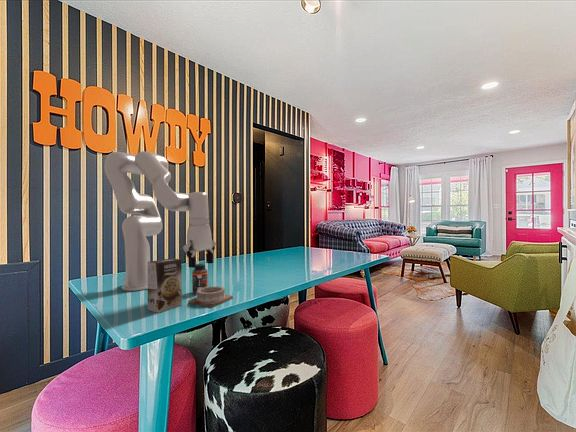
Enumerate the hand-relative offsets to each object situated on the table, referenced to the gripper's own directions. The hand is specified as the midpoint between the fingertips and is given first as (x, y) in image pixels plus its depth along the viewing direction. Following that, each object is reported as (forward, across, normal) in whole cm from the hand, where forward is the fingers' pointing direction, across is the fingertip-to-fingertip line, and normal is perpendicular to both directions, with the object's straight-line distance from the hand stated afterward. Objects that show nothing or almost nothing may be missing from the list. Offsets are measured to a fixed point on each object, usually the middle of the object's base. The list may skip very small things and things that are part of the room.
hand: (201, 265), depth 113 cm
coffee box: (+11, +19, +2) cm, 22 cm away
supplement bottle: (+11, 0, -1) cm, 11 cm away
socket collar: (+11, +7, +11) cm, 17 cm away
